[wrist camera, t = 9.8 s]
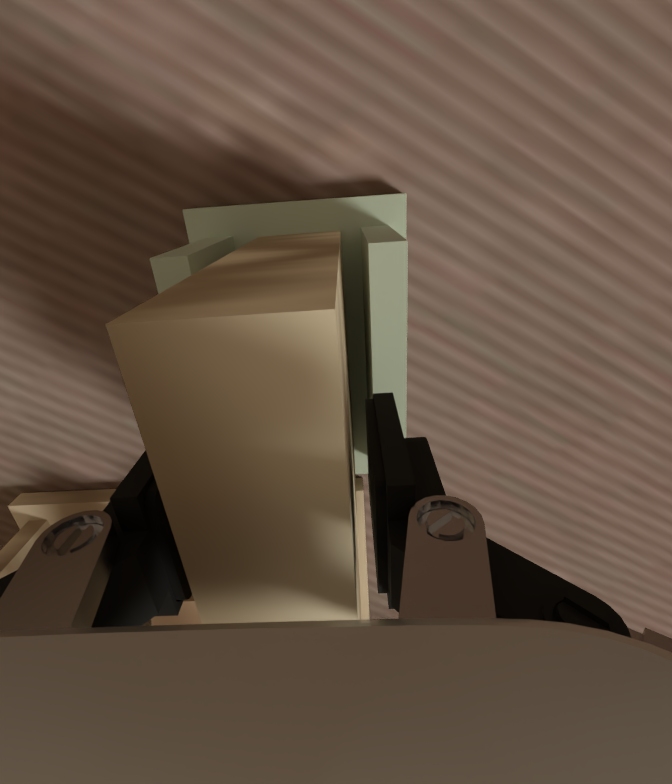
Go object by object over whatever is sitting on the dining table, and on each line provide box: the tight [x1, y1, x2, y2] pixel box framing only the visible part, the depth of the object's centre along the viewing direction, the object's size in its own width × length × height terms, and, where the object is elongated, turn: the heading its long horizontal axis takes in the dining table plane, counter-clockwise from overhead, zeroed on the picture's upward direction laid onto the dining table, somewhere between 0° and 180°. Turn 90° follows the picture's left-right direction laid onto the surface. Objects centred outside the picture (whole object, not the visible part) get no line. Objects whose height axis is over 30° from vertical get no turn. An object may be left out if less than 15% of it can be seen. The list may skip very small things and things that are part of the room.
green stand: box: [149, 193, 408, 474], centre depth 16 cm, size 8×12×6 cm, turn 4°
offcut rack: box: [0, 478, 369, 620], centre depth 22 cm, size 18×14×5 cm
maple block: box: [105, 231, 361, 624], centre depth 12 cm, size 3×10×11 cm, turn 4°
